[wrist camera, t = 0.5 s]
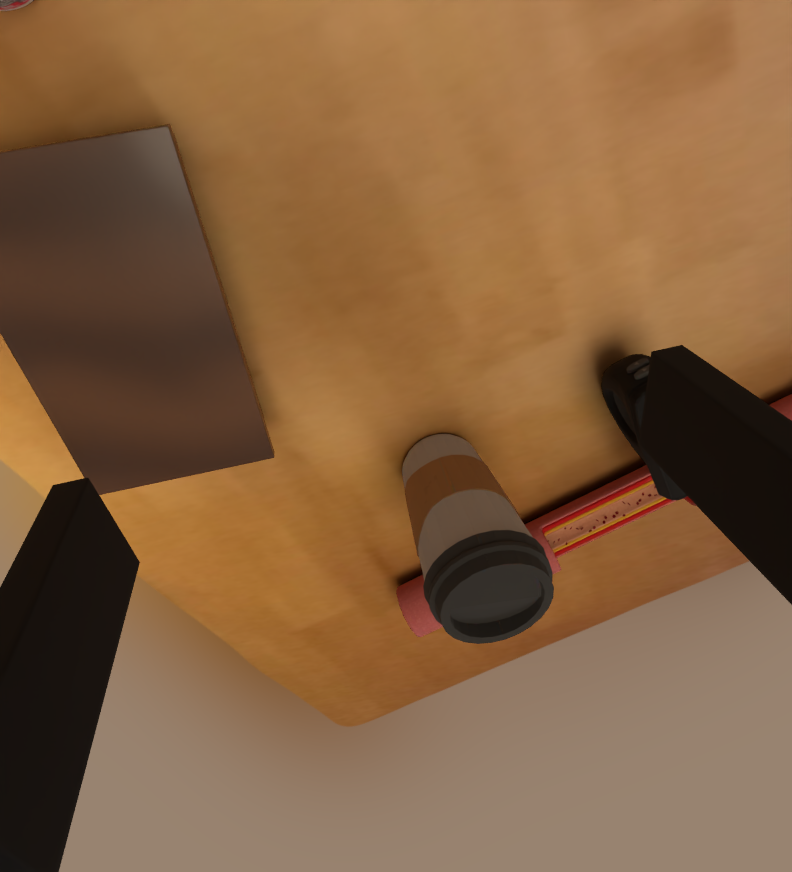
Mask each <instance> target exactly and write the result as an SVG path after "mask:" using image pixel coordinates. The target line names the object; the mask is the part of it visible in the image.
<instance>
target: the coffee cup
mask: <svg viewBox="0 0 792 872" xmlns="http://www.w3.org/2000/svg"><path fill="white" fill-rule="evenodd" d="M402 475H403V482H404V486H405V495H406V501H407V506H408V511H409V516H410V520H411V525H412V530H413V535H414V540H415V545H416V550H417V555H418V557H419V558H420V563H421V568H422V572H423V577H424V585H423V589H424V596H425V599H426V601H427V602H428V604H429V608H430V611H431V613H432V614H433V616H434V618H435V619H436V621H437V622H439V623H440V624H441V625H442V626H443V627H444V629H445V631H446V632H447V633H448V634H449V635H451V636H452V637H453V638H455V639H458V640H460V641H463V642H468V643H476V644H480V643H492V642H496V641H500V640H505V639H507V638H510V637H512V636H515V635H517V634H519V633H521V632H523V631H524V630H526V629H527V628H529V627H531V626H532V625H533V624H534V623H535V622H537V621H538V620H539V619H540V618H541V617H542V616H543V615H544V613H545V612H546V611H547V609H548V608H549V606H550V604H551V601H552V599H553V591H554V587H553V584H552V574H553V572H552V569H551V566H550V563H549V560H548V558H547V556H546V553H545V550H544V548H543V547H542V545H541V544H540V543H539V542H538V541H537V540H536V539H535V538H533V537H532V535H531V534H530V532H529V531H528V529H527V528H526V526H525V525H524V523H523V522H522V520H521V519H520V517H519V515H518V513H517V511H516V509H515V507H514V506H513V504H512V503H511V501H510V500H509V498H508V497H507V495H506V494H505V492H504V491H503V489H502V488H501V486H500V485H499V483H498V482H497V480H496V479H495V477H494V476H493V474H492V473H491V472H490V470H489V469H488V467H487V466H486V465H485V464H484V463H483V461H482V460H481V458H480V457H479V455H478V454H477V452H476V451H475V449H474V448H473V447H472V446H471V444H470V443H469V442H467V441H466V440H464V439H462V438H461V437H457V436H454V435H451V434H436V435H432V436H429V437H427V438H424V439H422V440H421V441H419V442H418V443H417V444H415V445H414V446H413V447H412V448H411V450H410V451H409V452H408V454H407V456H406V458H405V461H404V463H403V468H402Z"/></svg>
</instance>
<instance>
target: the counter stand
mask: <svg viewBox="0 0 792 872" xmlns="http://www.w3.org/2000/svg"><path fill="white" fill-rule="evenodd" d="M0 333H1V335H2V337H3V338H4V340H5V342H6V344H7V345H8V347H9V349H10V350H11V352H12V354H13V356H14V357H15V359H16V361H17V362H18V364H19V366H20V368H21V369H22V371H23V373H24V374H25V376H26V378H27V380H28V381H29V383H30V385H31V387H32V388H33V390H34V392H35V393H36V395H37V397H38V399H39V400H40V402H41V404H42V405H43V407H44V409H45V411H46V412H47V414H48V416H49V417H50V419H51V421H52V423H53V424H54V426H55V428H56V429H57V431H58V433H59V435H60V436H61V438H62V440H63V442H64V443H65V445H66V447H67V448H68V450H69V452H70V454H71V455H72V457H73V459H74V460H75V462H76V464H77V466H78V467H79V469H80V471H81V472H82V474H83V476H84V478H89V479H90V481H91V483H92V484H93V486H94V488H95V489H96V491H97V493H98V494H99V495H102V494H106V493H111V492H116V491H120V490H125V489H130V488H134V487H139V486H144V485H148V484H153V483H158V482H162V481H167V480H172V479H177V478H181V477H186V476H191V475H195V474H200V473H205V472H209V471H214V470H219V469H223V468H228V467H233V466H238V465H242V464H247V463H252V462H256V461H261V460H266V459H270V458H274V449H273V446H272V443H271V440H270V437H269V434H268V431H267V427H266V424H265V421H264V416H263V413H262V410H261V407H260V404H259V401H258V397H257V394H256V391H255V388H254V385H253V382H252V379H251V375H250V372H249V369H248V366H247V363H246V360H245V356H244V353H243V350H242V347H241V344H240V341H239V337H238V334H237V331H236V328H235V325H234V322H233V318H232V315H231V312H230V309H229V306H228V303H227V300H226V296H225V293H224V290H223V287H222V284H221V281H220V277H219V274H218V271H217V268H216V265H215V262H214V258H213V255H212V252H211V249H210V246H209V243H208V239H207V236H206V233H205V230H204V227H203V224H202V221H201V217H200V214H199V211H198V208H197V205H196V202H195V198H194V195H193V192H192V189H191V186H190V183H189V179H188V176H187V173H186V170H185V167H184V164H183V160H182V157H181V154H180V151H179V148H178V145H177V142H176V138H175V135H174V133H173V131H172V128H171V125H170V124H167V125H160V126H154V127H148V128H142V129H136V130H130V131H123V132H117V133H111V134H105V135H99V136H93V137H86V138H80V139H74V140H68V141H62V142H56V143H49V144H43V145H37V146H31V147H25V148H19V149H12V150H6V151H0Z"/></svg>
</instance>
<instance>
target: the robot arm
mask: <svg viewBox="0 0 792 872" xmlns="http://www.w3.org/2000/svg"><path fill="white" fill-rule="evenodd" d="M639 446H640V447H641V448H642V449H643V450H644V451H645V452H646V453H647V454H648V455H649V456H650V457H651V458H652V459H653V461H654V462H655V463H656V464H657V465H658V466H659V467H660V468H661V469H662V470H663V471H664V472H665V473H666V474H667V475H668V476H669V477H670V478H671V479H672V480H673V481H674V482H675V483H676V485H677V486H678V487H679V488H680V489H681V490H682V491H683V492H684V493H685V494H686V495H687V496H688V497H689V498H690V499H691V500H692V501H693V502H694V503H695V504H696V505H697V506H698V507H699V508H700V510H701V511H702V512H703V513H704V514H705V515H706V516H707V517H708V518H709V519H710V520H711V521H712V522H713V523H714V524H715V525H716V526H717V527H718V528H719V529H720V530H721V531H722V532H723V533H724V535H725V536H726V537H727V538H728V539H729V540H730V541H731V542H732V543H733V544H734V545H735V546H736V547H737V548H738V549H739V550H740V551H741V552H742V553H743V554H744V555H745V556H746V557H747V559H748V560H749V561H750V562H751V563H752V564H753V565H754V566H755V567H756V568H757V569H758V570H759V571H760V572H761V573H762V574H763V575H764V576H765V577H766V578H767V579H768V580H769V581H770V582H771V584H772V585H773V586H774V587H775V588H776V589H777V590H778V591H779V592H780V593H781V594H782V595H783V596H784V597H785V598H786V599H787V600H788V601H789V602H790V603H791V604H792V421H791V420H790V419H789V418H787V417H786V416H784V415H783V414H781V413H780V412H778V411H777V410H775V409H774V408H773V407H771V406H770V405H768V404H767V403H765V402H764V401H762V400H761V399H759V398H758V397H757V396H755V395H754V394H752V393H751V392H749V391H748V390H746V389H745V388H744V387H742V386H741V385H739V384H738V383H736V382H735V381H733V380H732V379H730V378H729V377H728V376H726V375H725V374H723V373H722V372H720V371H719V370H717V369H716V368H715V367H713V366H712V365H710V364H709V363H707V362H706V361H704V360H703V359H701V358H700V357H699V356H697V355H696V354H694V353H693V352H691V351H690V350H688V349H687V348H685V347H684V346H683V345H680V346H676V347H671V348H667V349H662V350H658V351H653V352H651V359H650V367H649V374H648V381H647V388H646V395H645V402H644V409H643V416H642V423H641V430H640V437H639ZM139 563H140V562H139V560H138V559H137V557H136V555H135V554H134V552H133V550H132V549H131V547H130V545H129V544H128V542H127V540H126V539H125V537H124V535H123V534H122V532H121V531H120V529H119V527H118V526H117V524H116V522H115V521H114V519H113V517H112V516H111V514H110V512H109V511H108V509H107V507H106V506H105V504H104V502H103V501H102V499H101V497H100V496H99V494H98V493H97V491H96V489H95V488H94V486H93V484H92V483H91V481H90V479H89V478H84V479H79V480H75V481H70V482H66V483H61V484H57V485H53V486H52V488H51V490H50V492H49V494H48V496H47V498H46V500H45V502H44V504H43V506H42V507H41V510H40V511H39V513H38V515H37V517H36V519H35V521H34V523H33V525H32V527H31V529H30V531H29V533H28V535H27V537H26V539H25V541H24V542H23V544H22V546H21V548H20V550H19V552H18V554H17V556H16V558H15V560H14V562H13V564H12V566H11V568H10V570H9V572H8V574H7V575H6V577H5V579H4V581H3V583H2V585H1V587H0V872H59V868H60V864H61V860H62V856H63V852H64V849H65V845H66V841H67V837H68V833H69V829H70V825H71V822H72V818H73V814H74V811H75V807H76V803H77V799H78V795H79V791H80V788H81V784H82V780H83V776H84V773H85V769H86V765H87V761H88V757H89V754H90V749H91V746H92V742H93V738H94V734H95V730H96V727H97V723H98V719H99V715H100V712H101V707H102V704H103V700H104V696H105V693H106V688H107V685H108V681H109V677H110V674H111V670H112V666H113V662H114V658H115V654H116V651H117V647H118V643H119V639H120V635H121V631H122V628H123V624H124V620H125V616H126V612H127V609H128V605H129V601H130V597H131V593H132V590H133V586H134V582H135V578H136V574H137V571H138V567H139Z"/></svg>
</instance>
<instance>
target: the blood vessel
mask: <svg viewBox="0 0 792 872" xmlns="http://www.w3.org/2000/svg"><path fill="white" fill-rule="evenodd" d="M770 406H771V407H773V408H774V409H775V410H777V411H778V412H780V413H781V414H783V415H784V416H786V417H787V418H789V419H790V420H791V421H792V394H790V395H788V396H786V397H784V398H782V399H780V400H778V401H776V402H774V403H772V404H770ZM683 499H685V500H686V501H688V502H689V503H690V504H692V505H694V506H696V504H695V503H694V502H693V501H692V500H691V499H690V498H689V497H688V496H687V497H685V498H683ZM675 501H677V500H670V499H667V498H665V497H663V496H660V495H659V494H658V492H657V489H656V487H655V484H654V482H653V479H652V477H651V474H650V472H649V469H648V467H647V465H645V466H643V467H641V468H639V469H637V470H635V471H633V472H631V473H629V474H627V475H625V476H623V477H621V478H619V479H617V480H615V481H613V482H611V483H609V484H606V485H604V486H602V487H600V488H598V489H596V490H594V491H592V492H590V493H588V494H586V495H584V496H582V497H580V498H578V499H576V500H574V501H572V502H570V503H568V504H566V505H564V506H562V507H560V508H557V509H555V510H553V511H551V512H549V513H547V514H545V515H543V516H541V517H539V518H537V519H535V520H533V521H531V522H529V523H527V524H525V526H526V528H527V529H528V531H529V532H530V534H531V535H532V537H533V538H535V539H536V540H537V541H538V542H539V543H540V544H541V545H542V547H543V548H544V550H545V553H546V556H547V558H548V560H549V563H550V566H551V569H552V572H553V574H554V573H556V572H559V571H560V570H561V567H560V565H559V563H558V560H557V558H558V557H560V556H562V555H564V554H566V553H568V552H570V551H572V550H574V549H576V548H579V547H581V546H583V545H585V544H587V543H589V542H591V541H593V540H595V539H597V538H599V537H602V536H604V535H606V534H608V533H610V532H612V531H614V530H616V529H618V528H620V527H622V526H624V525H627V524H629V523H631V522H633V521H635V520H637V519H639V518H641V517H643V516H645V515H647V514H650V513H652V512H654V511H656V510H658V509H660V508H662V507H664V506H666V505H668V504H670V503H672V502H675ZM423 585H424V577H423V575H421V576H419V577H417V578H415V579H413V580H410V581H408V582H406V583H404V584H402V585H400V586H398V588H397V591H396V592H397V597H398V601H399V606H400V608H401V610H402V613H403V616H404V618H405V620H406V621H407V623H408V625H409V627H410V629H411V630H412V631H413V632H414V633H415V634H416V635H417V636H418V637H422V636H424V635H426V634H428V633H430V632H432V631H435V630H437V629H439V628H441V627H443V626H442V625H441V624H440V623H439V622H437V621H436V619H435V618H434V616H433V614H432V613H431V611H430V608H429V604H428V602H427V601H426V599H425V596H424V589H423Z"/></svg>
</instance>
